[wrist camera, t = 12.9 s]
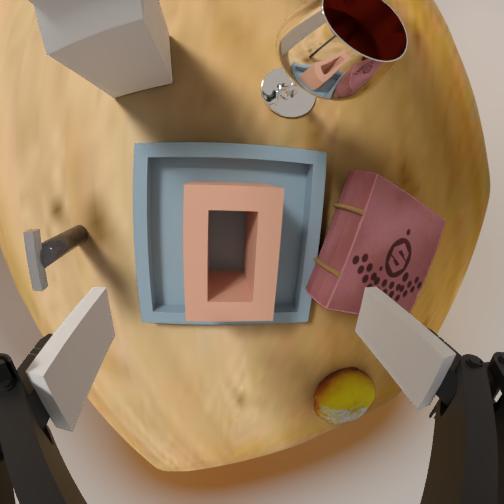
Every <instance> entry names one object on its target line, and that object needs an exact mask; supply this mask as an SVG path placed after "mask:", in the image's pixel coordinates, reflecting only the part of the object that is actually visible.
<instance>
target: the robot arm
mask: <svg viewBox="0 0 504 504" xmlns="http://www.w3.org/2000/svg"><path fill="white" fill-rule="evenodd" d="M355 332H356V333H357V335H358V336H359V337H360V338H361V339H362V341H363V342H364V343H365V344H366V346H367V347H368V348H369V349H370V350H371V352H372V353H373V354H374V355H375V357H376V358H377V359H378V360H379V362H380V363H381V364H382V365H383V367H384V368H385V369H386V370H387V372H388V373H389V374H390V375H391V377H392V378H393V379H394V381H395V382H396V383H397V384H398V386H399V387H400V388H401V389H402V391H403V392H404V393H405V395H406V396H407V397H408V398H409V400H410V401H411V402H412V404H413V405H414V406H415V407H416V409H417V410H418V409H421V408H423V407H426V406H428V405H430V403H431V402H432V400H433V398H434V397H435V395H437V396H438V397H439V398H440V399H439V400H438V402H437V404H436V405H435V407H434V409H433V410H432V412H431V413H430V415H429V417H430V418H431V417H432V415H433V414H434V413H435V412H436V415H435V417H434V418H435V428H434V436H433V444H432V451H431V457H430V463H429V469H428V474H427V479H426V483H425V488H424V492H423V496H422V500H421V503H420V504H504V352H496V353H495V354H494V355H493V357H492V359H491V361H490V362H485V363H484V362H483V361H482V360H481V359H480V358H478V357H477V356H474V355H470V354H466V355H463V356H461V355H460V354H459V353H458V352H456V351H455V350H454V349H453V348H452V347H451V346H450V345H448V344H447V343H446V342H444V340H443V339H442V338H440V337H438V335H437V334H436V333H435V332H433V331H432V330H430V329H429V328H427V327H425V326H424V325H423V324H422V323H420V322H419V321H418V320H417V319H416V318H414V317H413V316H412V315H411V314H410V313H408V312H407V311H406V310H405V309H404V308H402V307H401V306H400V305H399V304H397V303H396V302H395V301H394V300H393V299H391V298H390V297H389V296H388V295H386V294H385V293H384V292H383V291H381V290H380V289H379V288H378V287H365V290H364V295H363V299H362V304H361V308H360V312H359V316H358V320H357V324H356V328H355ZM114 337H115V332H114V327H113V322H112V317H111V311H110V306H109V300H108V294H107V287H92V288H91V290H90V291H89V292H88V293H87V294H86V295H85V296H84V298H83V299H82V300H81V301H80V302H79V303H78V305H77V306H76V307H75V308H74V309H73V310H72V312H71V313H70V314H69V315H68V316H67V318H66V319H65V320H64V321H63V323H62V324H61V325H60V326H59V328H58V329H57V330H56V331H55V333H54V334H48V335H46V336H45V337H43V338H42V339H40V341H39V342H38V343H37V344H36V346H35V348H34V349H33V350H32V351H31V352H30V354H29V355H28V356H27V357H26V359H25V360H24V361H23V363H22V364H21V365H20V367H19V368H18V370H16V368H15V366H14V364H13V361H12V359H11V357H10V356H9V355H7V354H3V353H0V504H15V498H14V491H13V488H14V490H15V493H16V496H17V498H18V501H19V503H20V504H87V503H86V501H85V499H84V498H83V496H82V495H81V493H80V491H79V489H78V488H77V486H76V484H75V482H74V480H73V479H72V477H71V475H70V473H69V471H68V469H67V467H66V465H65V463H64V461H63V459H62V456H61V455H60V452H59V450H58V448H57V445H56V443H55V441H54V438H53V436H52V433H51V431H50V429H49V427H48V426H47V422H48V420H49V418H51V420H52V421H53V423H54V425H55V426H56V427H57V428H61V429H64V430H68V431H72V432H73V430H74V427H75V425H76V422H77V420H78V417H79V415H80V412H81V410H82V407H83V405H84V402H85V400H86V398H87V395H88V393H89V390H90V388H91V386H92V384H93V381H94V379H95V377H96V375H97V372H98V370H99V368H100V366H101V364H102V362H103V359H104V357H105V355H106V353H107V351H108V349H109V347H110V345H111V343H112V341H113V339H114ZM499 390H501V392H502V395H501V397H500V398H499V400H498V401H497V402H495V400H494V398H495V397H496V395H497V394H498V392H499Z"/></svg>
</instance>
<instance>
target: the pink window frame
mask: <svg viewBox="0 0 504 504" xmlns="http://www.w3.org/2000/svg"><path fill="white" fill-rule="evenodd" d="M283 202H284V188H281V187H277V186H273V185H269V184H263V183H243V182H215V181H191V182H189V183H186V184H184V201H183V260H184V293H185V314H186V321H208V322H237V321H273V315H274V305H275V295H276V285H277V274H278V263H279V252H280V240H281V228H282V215H283ZM210 210H225V211H246V228H245V248H244V268H243V271H217V270H209V213H210Z"/></svg>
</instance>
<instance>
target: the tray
mask: <svg viewBox="0 0 504 504" xmlns="http://www.w3.org/2000/svg"><path fill="white" fill-rule="evenodd" d="M326 164H327V152H321V151H314V150H306V149H298V148H289V147H279V146H268V145H255V144H239V143H215V142H157V143H135V145H134V168H133V223H134V246H135V261H136V274H137V285H138V294H139V303H140V311H141V318H142V322H147V323H169V324H275V323H298V322H308V318H309V312H310V306H311V299H312V297H310V296H309V295H308V293H307V292H306V290H305V288H306V286H307V283H308V281H309V278H310V276H311V273H312V271H313V268H314V266H315V263H316V262H315V261H314V260H313V259H314V257H318V248H319V240H320V231H321V222H322V212H323V202H324V190H325V178H326ZM191 181H215V182H243V183H263V184H269V185H273V186H277V187H281V188H284V202H283V215H282V228H281V240H280V252H279V263H278V274H277V285H276V295H275V305H274V315H273V321H237V322H208V321H186V314H185V293H184V260H183V201H184V184H186V183H189V182H191ZM245 228H246V211H225V210H210V213H209V270H217V271H243V268H244V248H245Z"/></svg>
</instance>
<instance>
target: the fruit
mask: <svg viewBox="0 0 504 504" xmlns="http://www.w3.org/2000/svg"><path fill="white" fill-rule="evenodd" d="M375 395H376V389H375V385H374V383H373V381H372V380H371V378H370V377H369V376H368V375H367V374H365V373H364V372H362V371H361V370H359V369H357V368H353V367H350V368H345V369H340V370H338V371H336V372H333V373H332V374H330V375H329V376H327V377H326V378H325V379H324V380H323V381H322V382H321V383H320V384H319V386H318V388H317V390H316V392H315V395H314V397H315V403H314V409H315V412H316V414H317V416H319V417H320V418H321V419H323V420H325V421H326V422H328V423H332V424H341V423H344V422H350V421H352V420H355V419H357V418H359V417H361V416H362V415H363V414H364V413H366V411H367V410H368V407H369V406H370V405H371V404H372V402H373V400H374V398H375Z"/></svg>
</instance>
